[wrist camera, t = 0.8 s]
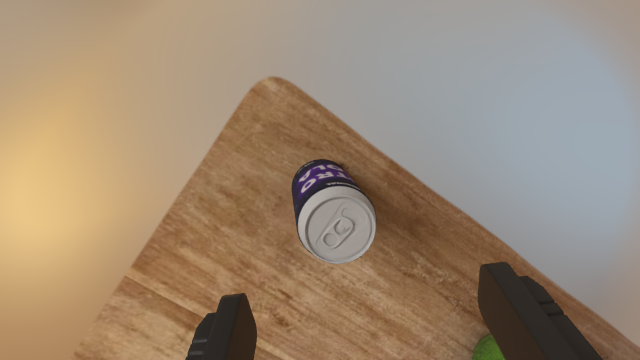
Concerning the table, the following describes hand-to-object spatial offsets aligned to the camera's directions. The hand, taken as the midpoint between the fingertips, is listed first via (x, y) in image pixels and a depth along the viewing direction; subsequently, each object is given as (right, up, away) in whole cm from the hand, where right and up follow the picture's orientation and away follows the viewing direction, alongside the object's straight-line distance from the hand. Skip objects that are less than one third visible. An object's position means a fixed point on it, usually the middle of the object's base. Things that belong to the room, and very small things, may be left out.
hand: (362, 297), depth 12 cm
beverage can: (-1, +4, +23) cm, 23 cm away
